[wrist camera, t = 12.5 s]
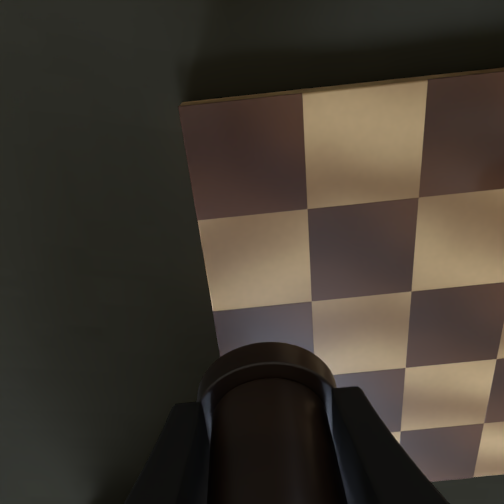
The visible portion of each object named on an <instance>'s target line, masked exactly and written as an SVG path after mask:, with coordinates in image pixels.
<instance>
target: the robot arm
mask: <svg viewBox="0 0 504 504" xmlns="http://www.w3.org/2000/svg"><path fill="white" fill-rule="evenodd" d="M332 426H333V442H334V447H335V451H336V455H337V459H338V464H339V468H340V472H341V477H342V481H343V485H344V490H345V494H346V498H347V503H348V504H450V503H449V502H448V501H447V500H446V499H445V498H444V497H443V496H442V494H441V493H440V492H439V491H438V490H437V489H436V488H435V487H434V485H433V484H432V483H431V482H430V481H429V480H428V478H427V477H426V476H425V475H424V474H423V473H422V471H421V470H420V469H419V468H418V467H417V465H416V464H415V463H414V462H413V460H412V459H411V458H410V457H409V455H408V454H407V453H406V452H405V450H404V449H403V448H402V446H401V445H400V444H399V443H398V441H397V440H396V439H395V437H394V436H393V435H392V433H391V432H390V431H389V429H388V428H387V427H386V425H385V424H384V422H383V421H382V420H381V418H380V417H379V415H378V414H377V412H376V411H375V409H374V408H373V406H372V405H371V403H370V402H369V400H368V399H367V397H366V395H365V394H364V392H363V390H362V389H361V388H359V387H358V386H351V387H341V388H332ZM209 458H210V443H209V438H208V433H207V429H206V424H205V419H204V414H203V409H202V404H201V401H200V402H190V403H179V404H175V405H174V406H173V407H172V409H171V411H170V413H169V416H168V418H167V421H166V423H165V425H164V427H163V430H162V432H161V434H160V436H159V438H158V440H157V442H156V444H155V446H154V448H153V450H152V452H151V454H150V456H149V458H148V460H147V462H146V464H145V466H144V468H143V470H142V471H141V473H140V475H139V477H138V479H137V481H136V483H135V485H134V486H133V488H132V490H131V492H130V494H129V495H128V497H127V499H126V500H125V502H124V504H207V492H208V475H209Z"/></svg>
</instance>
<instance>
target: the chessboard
mask: <svg viewBox="0 0 504 504" xmlns="http://www.w3.org/2000/svg"><path fill="white" fill-rule="evenodd" d="M178 109H179V115H180V121H181V127H182V133H183V139H184V144H185V150H186V156H187V162H188V168H189V174H190V180H191V186H192V192H193V198H194V204H195V210H196V216H197V221H198V226H199V232H200V238H201V244H202V250H203V256H204V262H205V268H206V273H207V279H208V285H209V291H210V297H211V303H212V309H213V317H214V323H215V329H216V334H217V340H218V346H219V352H220V357H221V356H223V355H224V354H226V353H228V352H230V351H232V350H233V349H236V348H239V347H241V346H244V345H248V344H252V343H259V342H282V343H288V344H292V345H296V346H299V347H301V348H304V349H306V350H308V351H310V352H312V353H313V354H315V355H316V356H317V357H319V358H320V359H321V360H322V361H323V362H324V363H325V364H326V365H327V366H328V368H329V369H330V370H331V372H332V374H333V376H334V379H335V382H336V386H337V388H341V387H351V386H358V387H359V388H361V389H362V390H363V392H364V394H365V395H366V397H367V399H368V400H369V402H370V403H371V405H372V406H373V408H374V409H375V411H376V412H377V414H378V415H379V417H380V418H381V420H382V421H383V422H384V424H385V425H386V427H387V428H388V429H389V431H390V432H391V433H392V435H393V436H394V437H395V439H396V440H397V441H398V443H399V444H400V445H401V446H402V448H403V449H404V450H405V452H406V453H407V454H408V455H409V457H410V458H411V459H412V460H413V462H414V463H415V464H416V465H417V467H418V468H419V469H420V470H421V471H422V473H423V474H424V475H425V476H426V477H427V478H428V480H429V481H430V482H433V481H444V480H454V479H465V478H473V477H479V476H489V475H500V474H504V67H503V68H493V69H484V70H475V71H466V72H456V73H447V74H438V75H429V76H419V77H410V78H401V79H392V80H383V81H373V82H364V83H355V84H346V85H336V86H327V87H318V88H309V89H299V90H290V91H281V92H272V93H262V94H253V95H244V96H235V97H226V98H216V99H207V100H198V101H189V102H182V103H181V105H180V106H178Z"/></svg>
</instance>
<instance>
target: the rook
mask: <svg viewBox="0 0 504 504" xmlns="http://www.w3.org/2000/svg"><path fill="white" fill-rule="evenodd" d="M332 388H337V386H336V382H335V379H334V376H333V374H332V372H331V370H330V369H329V368H328V366H327V365H326V364H325V363H324V362H323V361H322V360H321V359H320V358H319V357H317V356H316V355H315V354H313V353H312V352H310V351H308V350H306V349H304V348H301V347H299V346H296V345H292V344H288V343H282V342H259V343H252V344H248V345H244V346H241V347H239V348H236V349H233V350H232V351H230V352H228V353H226V354H224V355H223V356H221V357H220V358H218V359H217V360H216V361H215V362H214V363H213V364H212V365H211V366H210V367H209V368H208V370H207V371H206V372H205V374H204V376H203V377H202V379H201V382H200V384H199V388H198V395H197V402H200V401H201V404H202V409H203V414H204V419H205V424H206V429H207V433H208V438H209V443H210V458H209V475H208V492H207V504H348V503H347V498H346V494H345V490H344V485H343V481H342V477H341V472H340V468H339V464H338V459H337V455H336V451H335V447H334V442H333V426H332Z"/></svg>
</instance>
